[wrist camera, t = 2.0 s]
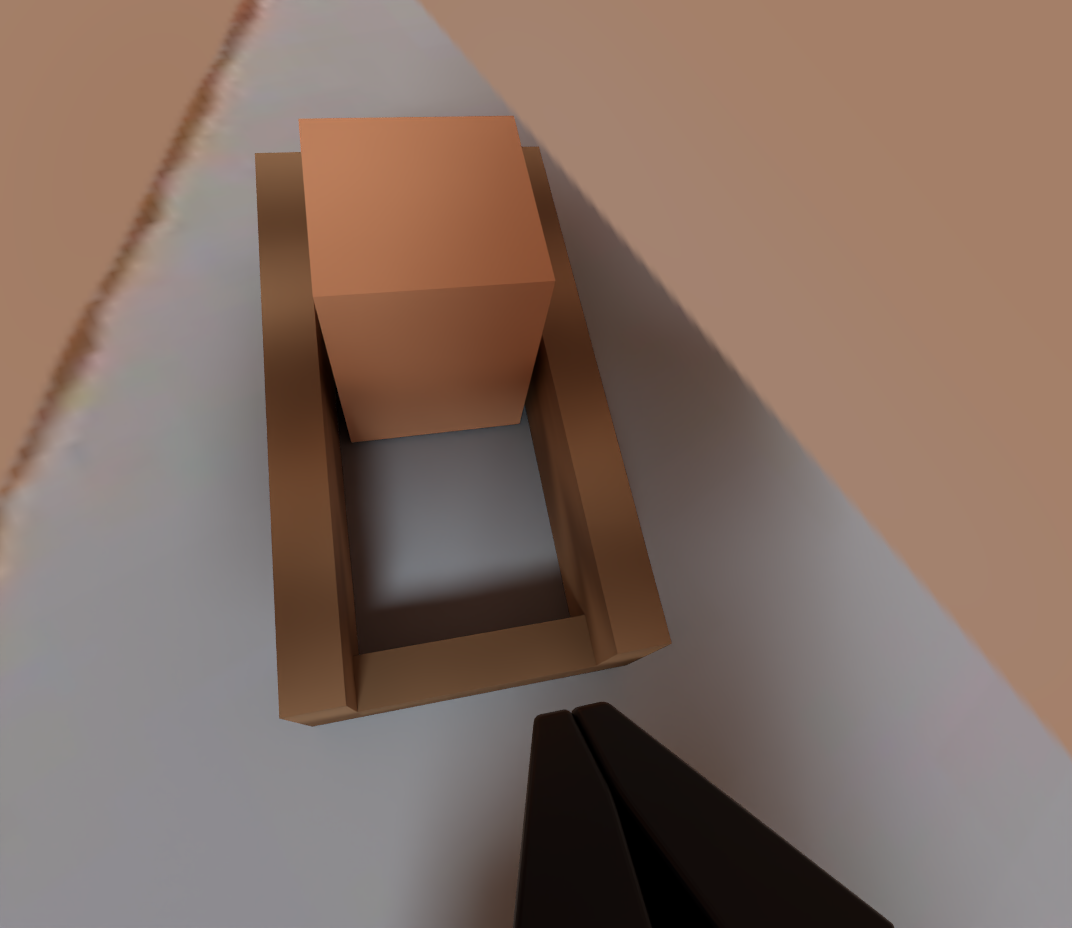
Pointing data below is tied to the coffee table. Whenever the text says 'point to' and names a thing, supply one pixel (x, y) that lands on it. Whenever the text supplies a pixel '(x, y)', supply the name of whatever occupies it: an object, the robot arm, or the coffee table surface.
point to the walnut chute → (321, 522)
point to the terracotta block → (425, 270)
